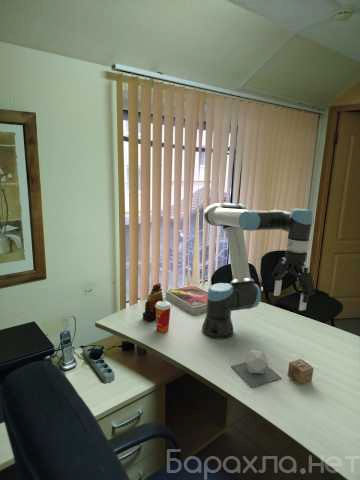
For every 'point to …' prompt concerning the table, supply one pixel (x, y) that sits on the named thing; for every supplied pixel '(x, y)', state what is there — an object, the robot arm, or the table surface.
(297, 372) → the letter block
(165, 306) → the paper cup
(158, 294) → the statue
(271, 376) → the grey mat
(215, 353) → the table surface
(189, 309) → the product packaging
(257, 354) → the die
